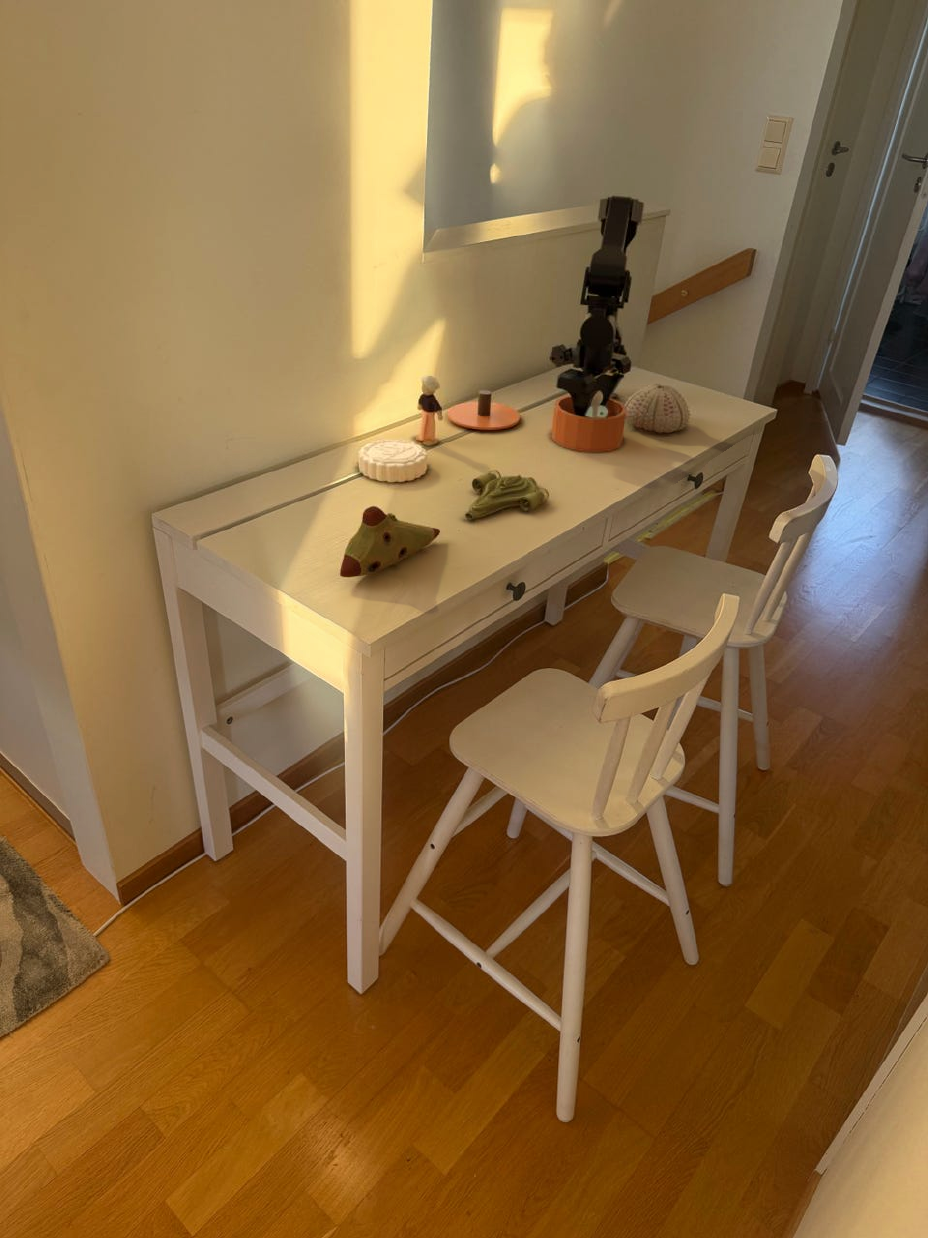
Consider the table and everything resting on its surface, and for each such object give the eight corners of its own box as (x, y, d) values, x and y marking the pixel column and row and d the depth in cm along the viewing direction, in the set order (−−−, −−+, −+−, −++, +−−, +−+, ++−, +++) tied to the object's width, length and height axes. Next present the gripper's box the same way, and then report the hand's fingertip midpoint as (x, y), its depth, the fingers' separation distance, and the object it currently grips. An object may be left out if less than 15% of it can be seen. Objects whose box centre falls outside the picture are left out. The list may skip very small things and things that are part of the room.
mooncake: (388, 450, 164) (388, 431, 162) (440, 467, 159) (441, 448, 157) (344, 470, 156) (344, 450, 154) (398, 489, 150) (398, 469, 148)
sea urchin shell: (646, 408, 189) (652, 371, 185) (701, 426, 181) (708, 388, 177) (608, 422, 181) (613, 384, 177) (664, 442, 173) (671, 402, 169)
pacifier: (566, 424, 170) (595, 430, 167) (569, 391, 167) (598, 397, 164) (581, 413, 175) (610, 418, 173) (584, 381, 172) (613, 387, 170)
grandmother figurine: (406, 438, 169) (407, 372, 162) (420, 433, 172) (422, 368, 165) (435, 450, 165) (437, 383, 158) (449, 445, 167) (452, 378, 161)
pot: (573, 420, 181) (577, 389, 178) (633, 437, 175) (638, 405, 171) (538, 439, 172) (541, 406, 168) (600, 458, 165) (605, 424, 162)
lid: (474, 401, 188) (476, 375, 185) (533, 418, 181) (535, 391, 178) (432, 420, 178) (433, 392, 175) (493, 438, 171) (494, 410, 168)
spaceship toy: (436, 508, 145) (437, 488, 143) (502, 475, 157) (503, 456, 155) (498, 532, 139) (499, 512, 137) (561, 496, 151) (563, 476, 149)
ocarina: (426, 533, 137) (428, 473, 132) (452, 545, 135) (455, 484, 129) (328, 580, 124) (325, 516, 119) (354, 594, 121) (352, 529, 116)
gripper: (585, 315, 173) (576, 394, 181) (535, 335, 160) (527, 419, 168) (637, 327, 167) (625, 407, 176) (589, 348, 154) (579, 433, 163)
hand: (589, 416), depth 171 cm, fingers closed on pacifier, 7 cm apart
